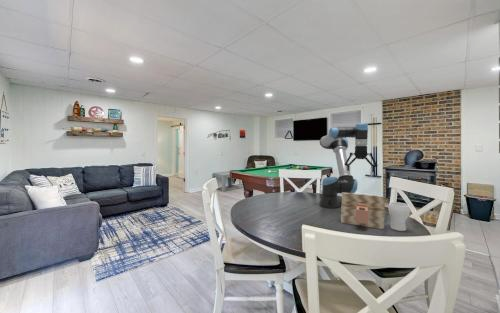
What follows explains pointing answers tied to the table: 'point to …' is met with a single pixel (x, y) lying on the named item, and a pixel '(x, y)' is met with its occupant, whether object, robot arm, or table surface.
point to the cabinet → (362, 213)
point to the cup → (398, 215)
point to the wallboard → (373, 204)
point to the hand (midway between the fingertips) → (360, 176)
